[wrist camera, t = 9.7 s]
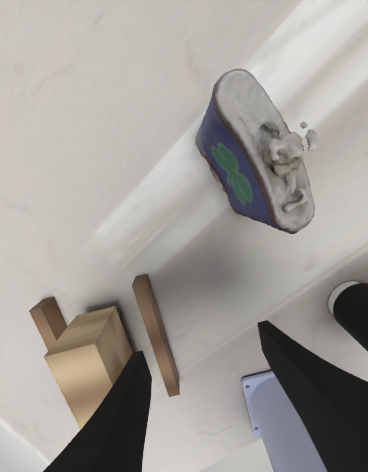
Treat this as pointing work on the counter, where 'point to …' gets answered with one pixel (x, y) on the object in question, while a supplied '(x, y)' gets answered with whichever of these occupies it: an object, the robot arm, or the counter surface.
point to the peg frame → (54, 324)
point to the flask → (256, 154)
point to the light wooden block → (89, 360)
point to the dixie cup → (351, 309)
